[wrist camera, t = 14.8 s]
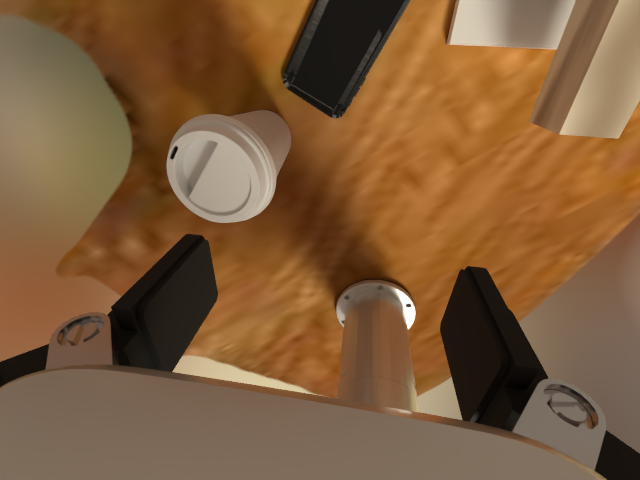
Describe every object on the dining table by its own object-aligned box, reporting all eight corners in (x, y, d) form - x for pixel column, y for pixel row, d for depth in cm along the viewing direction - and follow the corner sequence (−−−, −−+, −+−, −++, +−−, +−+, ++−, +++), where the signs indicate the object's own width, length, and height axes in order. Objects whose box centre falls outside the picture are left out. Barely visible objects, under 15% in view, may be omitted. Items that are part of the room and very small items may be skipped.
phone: (279, 83, 33) (354, -88, 26) (281, 82, 34) (355, -83, 27) (339, 122, 35) (428, -29, 27) (340, 121, 35) (426, -26, 28)
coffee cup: (274, 78, 34) (217, 92, 21) (318, 153, 37) (291, 203, 25) (213, 122, 37) (132, 157, 25) (258, 187, 41) (208, 246, 28)
